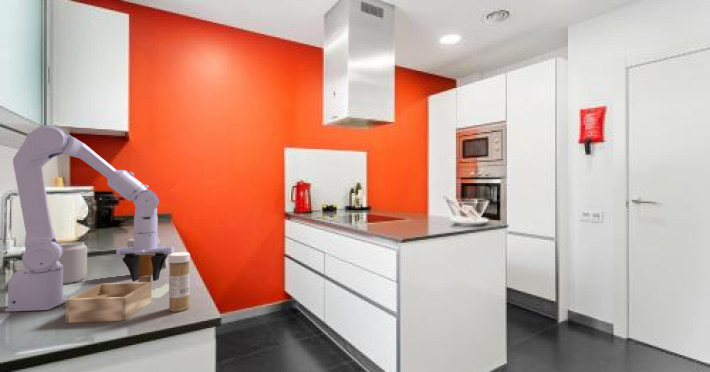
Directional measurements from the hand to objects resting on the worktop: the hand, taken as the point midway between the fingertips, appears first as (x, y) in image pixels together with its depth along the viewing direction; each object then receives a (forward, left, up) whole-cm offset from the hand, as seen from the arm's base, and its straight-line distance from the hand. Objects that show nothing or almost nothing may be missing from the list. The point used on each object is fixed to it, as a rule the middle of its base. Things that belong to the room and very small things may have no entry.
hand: (145, 280), depth 95 cm
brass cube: (-2, -18, -3) cm, 18 cm away
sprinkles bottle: (+15, -16, -3) cm, 22 cm away
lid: (0, 0, -4) cm, 4 cm away
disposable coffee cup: (-9, +18, -3) cm, 20 cm away
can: (-27, +12, -3) cm, 30 cm away
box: (0, -16, -3) cm, 16 cm away
